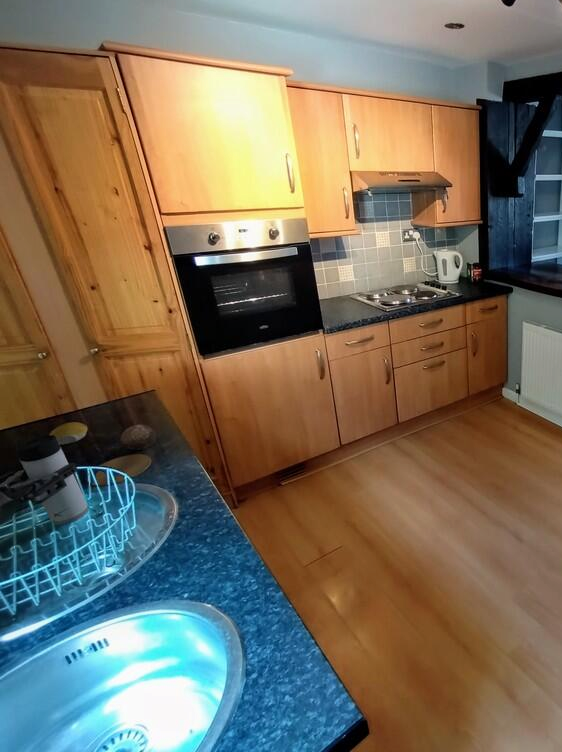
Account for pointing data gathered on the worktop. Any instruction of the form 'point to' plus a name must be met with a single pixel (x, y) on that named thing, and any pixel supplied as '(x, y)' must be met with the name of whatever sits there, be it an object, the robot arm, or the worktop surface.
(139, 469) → the cork coaster
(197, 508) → the worktop surface
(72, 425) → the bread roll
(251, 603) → the worktop surface
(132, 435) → the mushroom
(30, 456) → the travel mug
